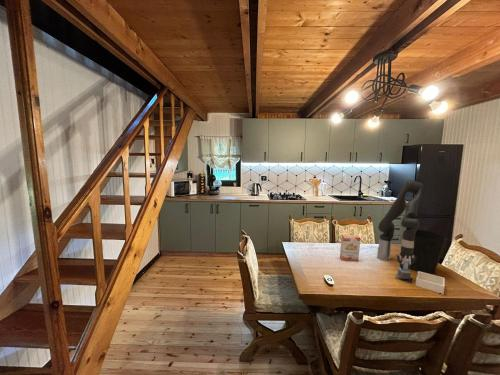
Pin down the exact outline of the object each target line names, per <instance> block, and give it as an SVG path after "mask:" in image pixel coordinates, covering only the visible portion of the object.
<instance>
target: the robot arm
mask: <svg viewBox="0 0 500 375" xmlns="http://www.w3.org/2000/svg"><path fill="white" fill-rule="evenodd" d="M423 186H424V185H423V183H422V182H419V181H415V180H412V179H408V180H406V182H405V183H404V184H403V187H402V188H401V190H400V192H399V194H398V195H397V198H396V199H395V200H394V202H393V203H392V204H391V206H390V208H389V209H388V212H387V213H386V214H385V215H384V217H383V218H382V219H381V220H380V222H379V223H378V230H379V231H380V232H381V234H379V239H378V240H379V241H378V247H377V254H376V258H377V259H379V260H383V261H390V258H391V251H392V250H391V249H392V248H391V247H392V242H393V241H392V240H393V238H394V233H395V224H394V222H393V221H394V220H396V219H398V218H399V217H400V216H401V215H402V214H403V213H404V211H405V213H404V215H403V218H402V220H401V221H400V225H401V226H402V227H403V228H405V229H409V228H411V229H412V230H411V229H410V231H406V230H403V232H402V237H401V238H402V239H401V245H400V252H399V253H396V254H395V257H396V261H397V263H398V264H399V268H401V269H403V263H404V261H405V259H409V264H408V270H410V269H409V268H410V265H411V264H414V262H415V260H416V258H417V256H415V255H413V249H414V238H415V233H416V231H417V230H419V229H418V228H419V227H420V221H419V219H417V218H416V217H417V216H418V207H419V203H420V200H421V197H422V193H423V192H422V191H423ZM407 193H411V194H414V197H413V198H411V199H410V200H409V201H408V202H406V200H407V199H406V195H407ZM411 257H412V259H411ZM402 258H403V259H402Z"/></svg>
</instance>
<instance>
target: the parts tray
mask: <svg viewBox="0 0 500 375" xmlns="http://www.w3.org/2000/svg"><path fill="white" fill-rule="evenodd" d="M445 278H446V277H442V276H439V275H435V274H433V275H432V274H428V273H424V272H420V271H418V272H417V275H416V278H415V286H416V287H417V288H418V287H419V288H423V289H425V290H429V291H433V292H435V293H438V294H439V293H442V294H443V295H444V292H445V288H446V287H445V285H446V284H445V283H446V279H445Z"/></svg>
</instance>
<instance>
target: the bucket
mask: <svg viewBox="0 0 500 375" xmlns="http://www.w3.org/2000/svg"><path fill="white" fill-rule="evenodd" d="M410 230H412V229H411V228H405V231H410ZM447 240H448V238H447V237H446V236H445V235H443V234H440V233H437V232H434V231H429V230H425V229H424V230H422V229H417V231H416V233H415V238H414V249H413V255H415V256H417V258H416V260H415V262H414V264H411V265H410V268H409V269H408V270H409V271H413V272H417V273H418V271H420V272H424V273H428V274H433V275H435V274H436V273H437V272H436V271H437V268H438V265H439V262H440V259H441V256H442V253H443V252H444V248H445V246H446V244H447V243H446V242H447ZM411 259H412V257H411Z"/></svg>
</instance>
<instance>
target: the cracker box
mask: <svg viewBox="0 0 500 375" xmlns="http://www.w3.org/2000/svg"><path fill="white" fill-rule="evenodd" d="M340 241H341V243H340V252H339V253H340V254H339V259H340V260H341V261H351V262H359V258H360V248H361V237H360V236H359V235H354V234H353V235H351V234H342V235H341V240H340Z"/></svg>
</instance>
